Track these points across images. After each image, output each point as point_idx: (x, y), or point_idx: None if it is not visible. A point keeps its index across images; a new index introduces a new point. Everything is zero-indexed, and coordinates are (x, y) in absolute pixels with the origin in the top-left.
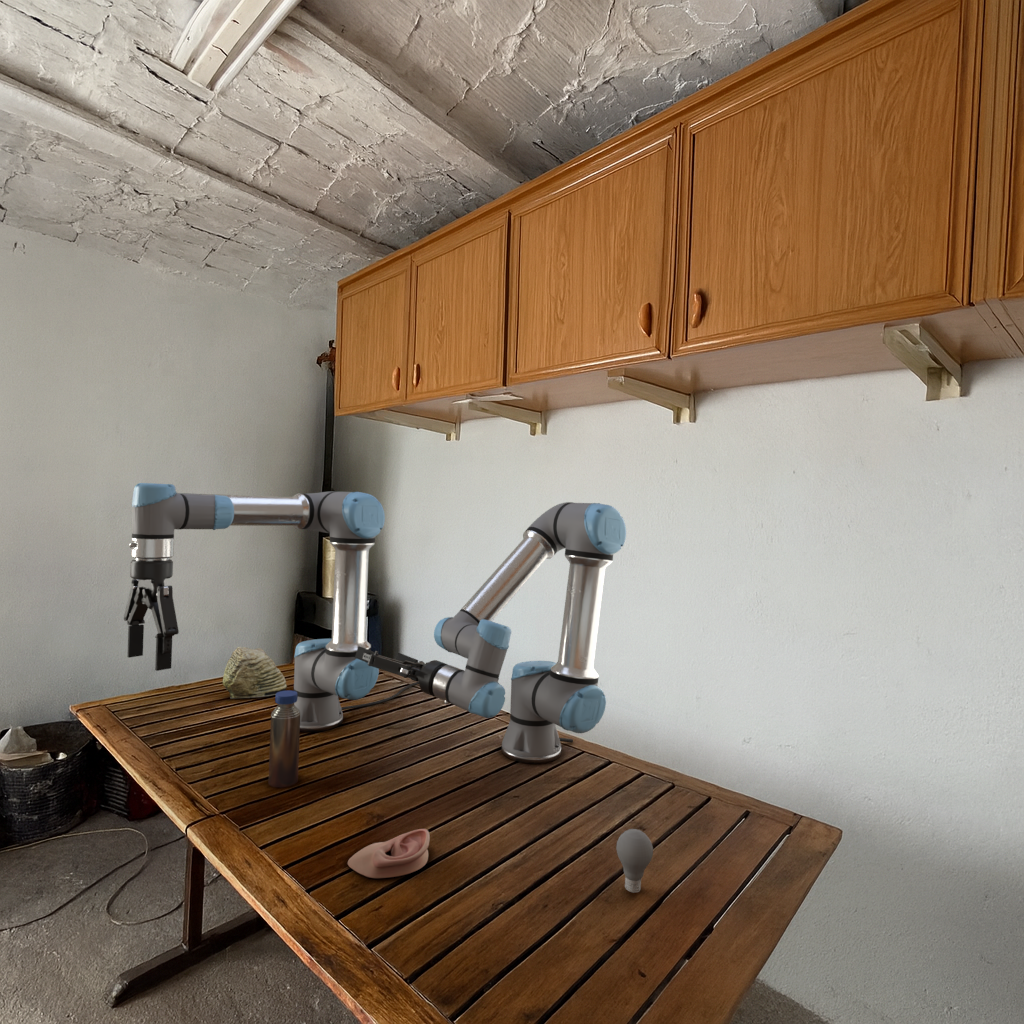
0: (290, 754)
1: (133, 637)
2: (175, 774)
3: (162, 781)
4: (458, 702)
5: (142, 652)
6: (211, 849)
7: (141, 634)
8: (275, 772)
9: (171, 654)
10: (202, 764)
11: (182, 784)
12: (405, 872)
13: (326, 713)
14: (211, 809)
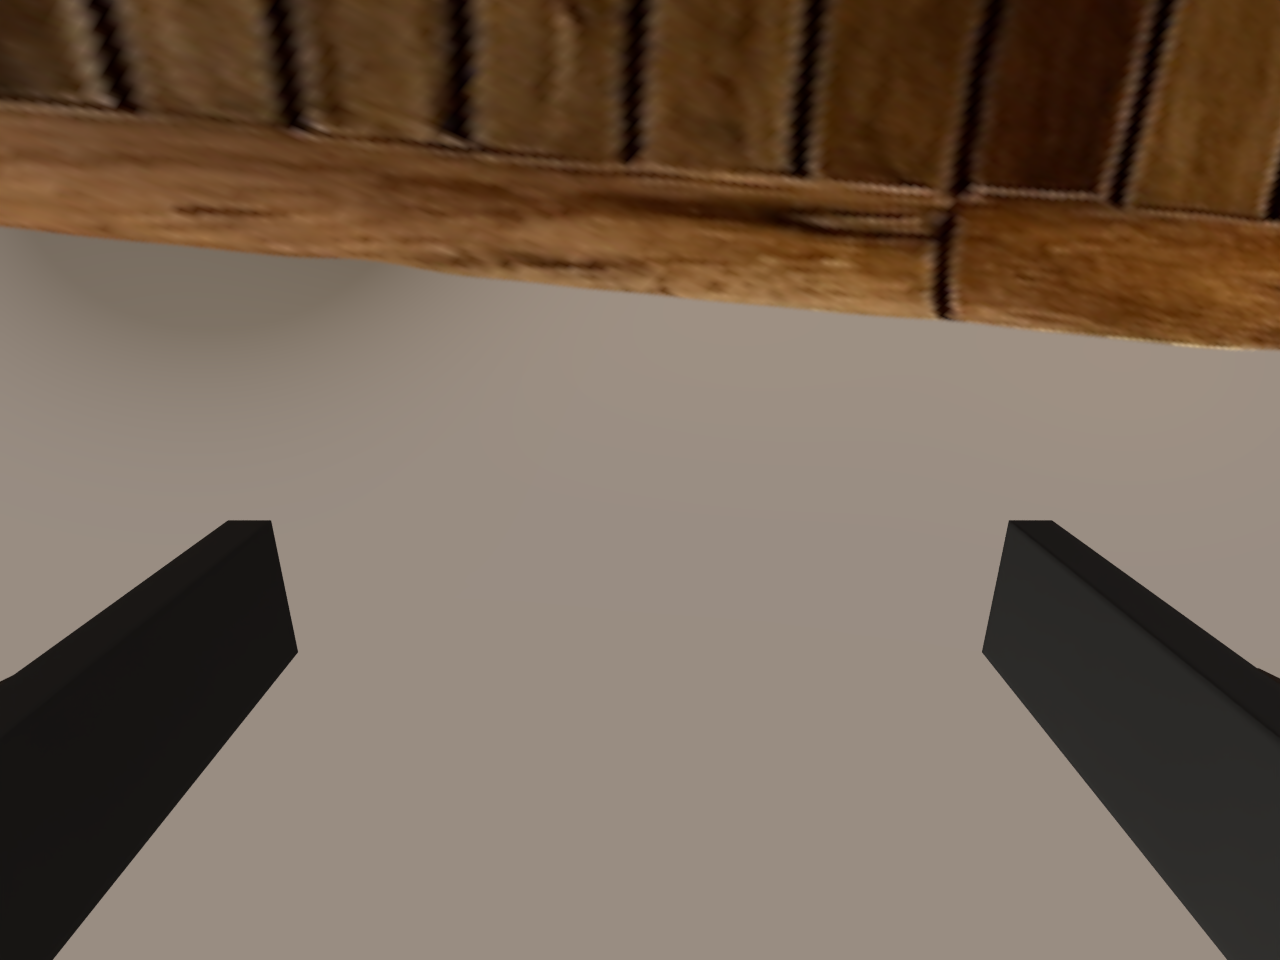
0: None
1: (139, 790)
2: (505, 162)
3: (538, 231)
4: None
5: (253, 542)
6: (1135, 334)
7: (79, 714)
8: None
9: (1168, 607)
10: (475, 15)
11: (620, 185)
12: None
13: None
14: (903, 204)
